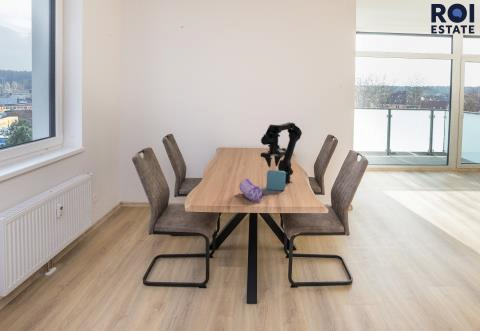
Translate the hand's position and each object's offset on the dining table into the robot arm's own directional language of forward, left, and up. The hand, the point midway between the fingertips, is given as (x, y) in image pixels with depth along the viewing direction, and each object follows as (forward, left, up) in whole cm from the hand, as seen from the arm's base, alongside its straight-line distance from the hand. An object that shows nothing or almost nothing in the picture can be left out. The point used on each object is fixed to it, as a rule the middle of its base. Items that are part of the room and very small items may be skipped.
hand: (273, 166), depth 295 cm
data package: (+6, +9, -13) cm, 17 cm away
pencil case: (+33, +14, -13) cm, 38 cm away
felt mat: (+15, +9, -13) cm, 22 cm away
